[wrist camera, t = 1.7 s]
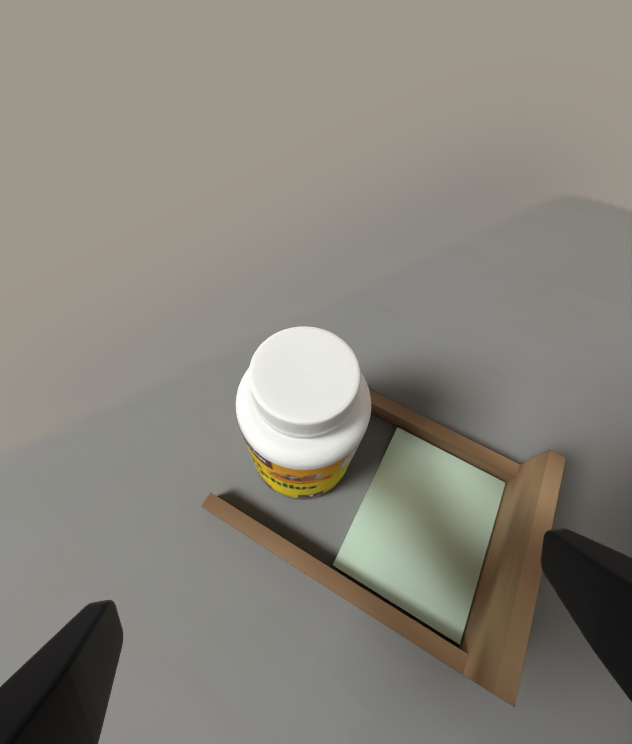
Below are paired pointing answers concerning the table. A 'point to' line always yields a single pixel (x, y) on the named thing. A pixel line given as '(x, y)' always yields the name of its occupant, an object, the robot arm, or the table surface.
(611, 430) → the table surface
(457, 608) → the bay
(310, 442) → the supplement bottle
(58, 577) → the table surface
